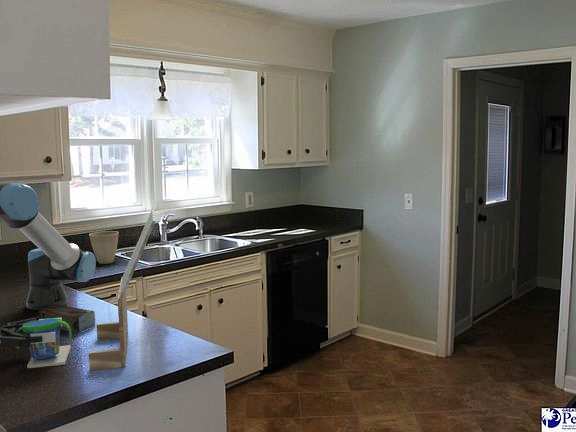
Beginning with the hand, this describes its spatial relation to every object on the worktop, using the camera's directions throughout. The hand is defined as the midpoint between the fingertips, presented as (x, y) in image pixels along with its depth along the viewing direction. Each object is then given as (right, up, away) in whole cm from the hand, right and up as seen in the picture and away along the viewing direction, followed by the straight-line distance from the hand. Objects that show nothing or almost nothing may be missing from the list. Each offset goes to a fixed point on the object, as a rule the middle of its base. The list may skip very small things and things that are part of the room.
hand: (58, 329), depth 167 cm
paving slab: (-3, -9, 0) cm, 9 cm away
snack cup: (-3, -8, -2) cm, 9 cm away
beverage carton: (-9, -5, +29) cm, 31 cm away
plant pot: (-29, +9, +133) cm, 136 cm away
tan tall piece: (+19, -8, +6) cm, 21 cm away
